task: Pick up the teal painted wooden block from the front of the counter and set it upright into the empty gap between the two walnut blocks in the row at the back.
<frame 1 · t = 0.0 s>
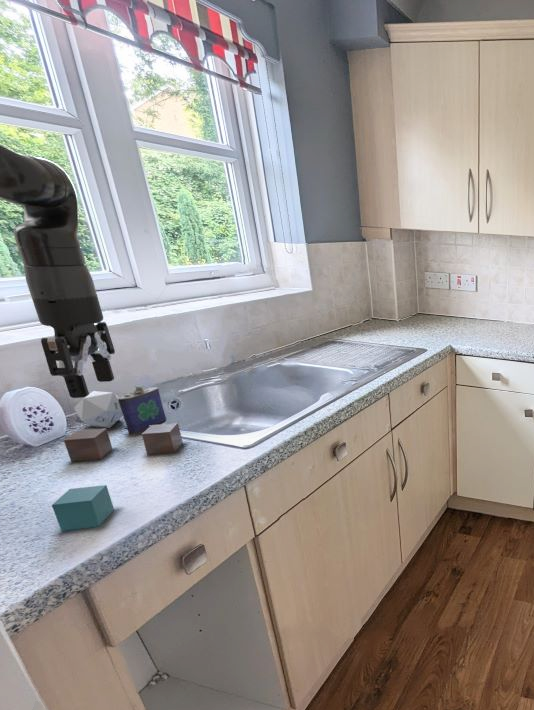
hand: (93, 388, 78), 20 cm above the table, tool pointing down, fingers open, 8 cm apart
flask: (148, 427, 111), on the table
die: (106, 425, 111), on the table
block A: (92, 455, 97), on the table
block C: (165, 448, 101), on the table
teal block: (88, 520, 76), on the table
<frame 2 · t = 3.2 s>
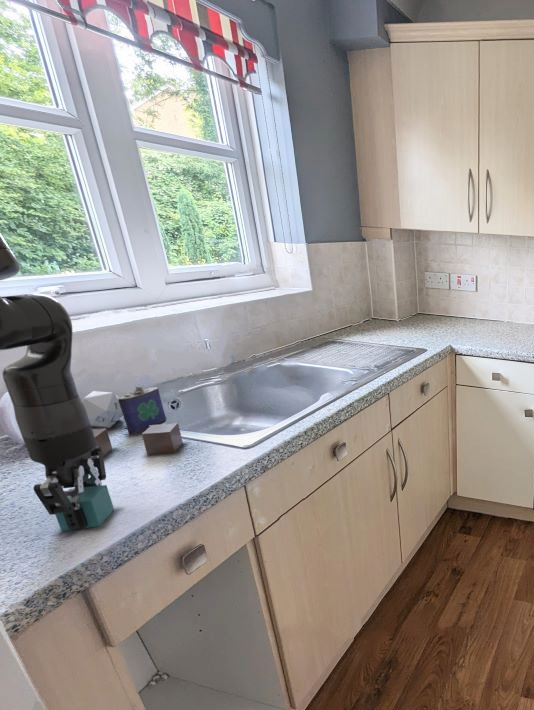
hand: (88, 517, 76), 0 cm above the table, tool pointing down, fingers closed on teal block, 5 cm apart
teal block: (88, 520, 76), on the table, touching gripper
everything else where it was.
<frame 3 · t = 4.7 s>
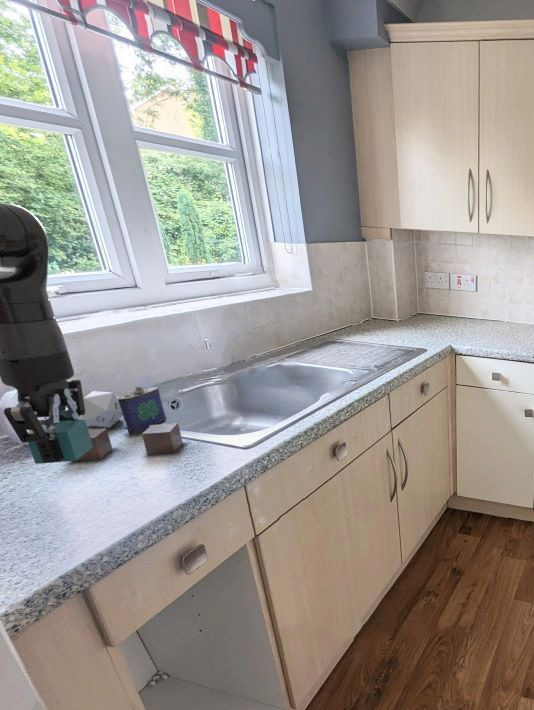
hand: (64, 452, 72), 13 cm above the table, tool pointing down, fingers closed on teal block, 5 cm apart
teal block: (65, 455, 72), point 12 cm above the table, touching gripper
everything else where it was.
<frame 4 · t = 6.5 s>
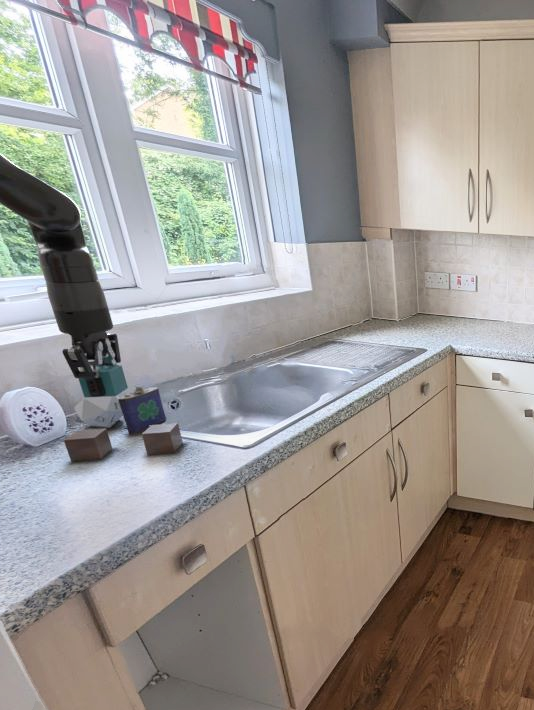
hand: (106, 390, 90), 15 cm above the table, tool pointing down, fingers closed on teal block, 5 cm apart
teal block: (106, 392, 91), point 15 cm above the table, touching gripper
everything else where it was.
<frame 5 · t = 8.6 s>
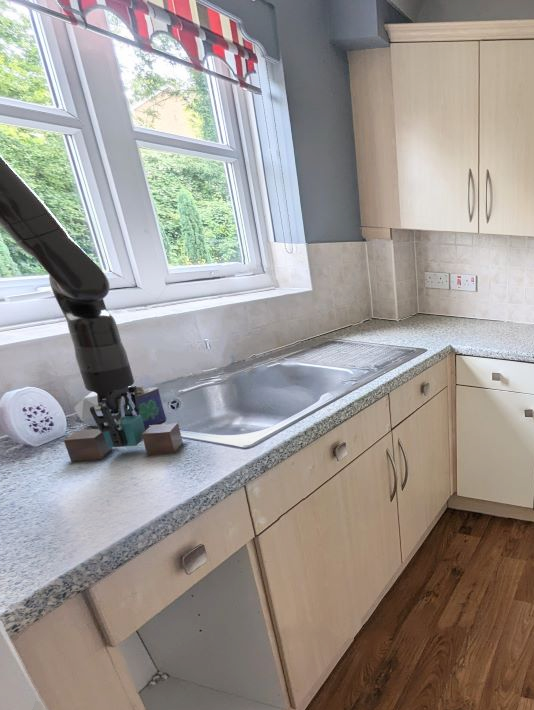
hand: (127, 439, 98), 3 cm above the table, tool pointing down, fingers closed on teal block, 5 cm apart
teal block: (128, 441, 98), point 2 cm above the table, touching gripper
everything else where it was.
when the fingers open (0 cm above the table, at t = 9.8 s): teal block stays where it is, on the table.
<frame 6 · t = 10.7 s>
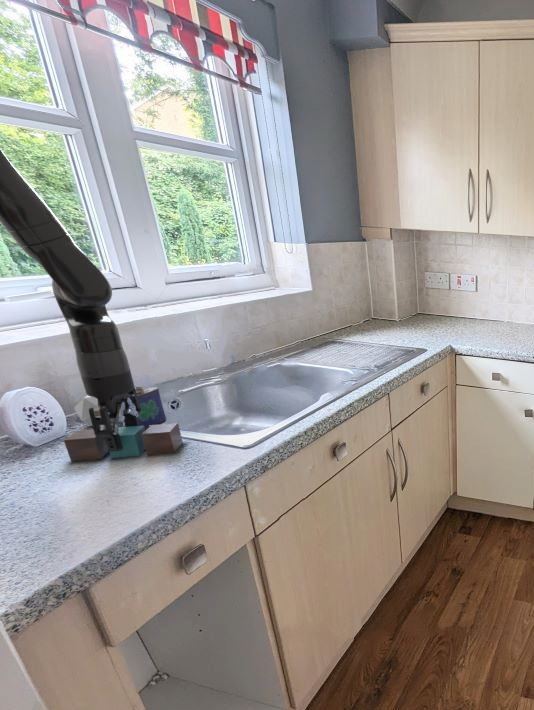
hand: (125, 442, 98), 2 cm above the table, tool pointing down, fingers open, 8 cm apart
teal block: (131, 451, 99), on the table
everything else where it was.
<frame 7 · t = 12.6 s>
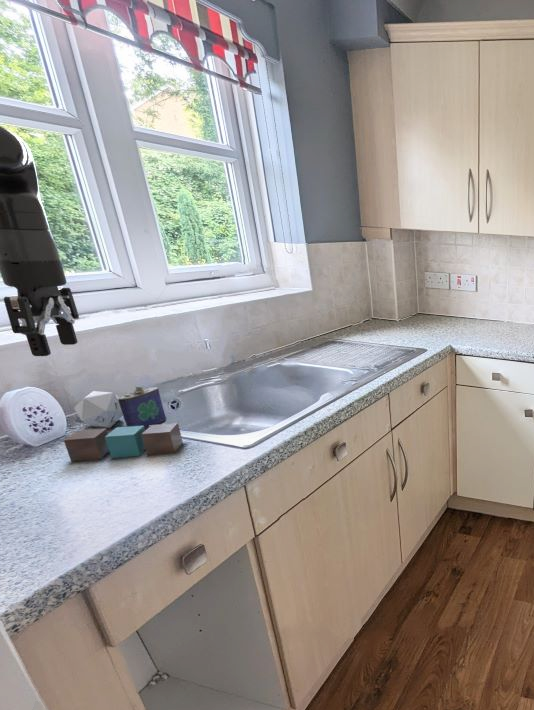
hand: (56, 349, 82), 25 cm above the table, tool pointing down, fingers open, 8 cm apart
nothing on the table moved.
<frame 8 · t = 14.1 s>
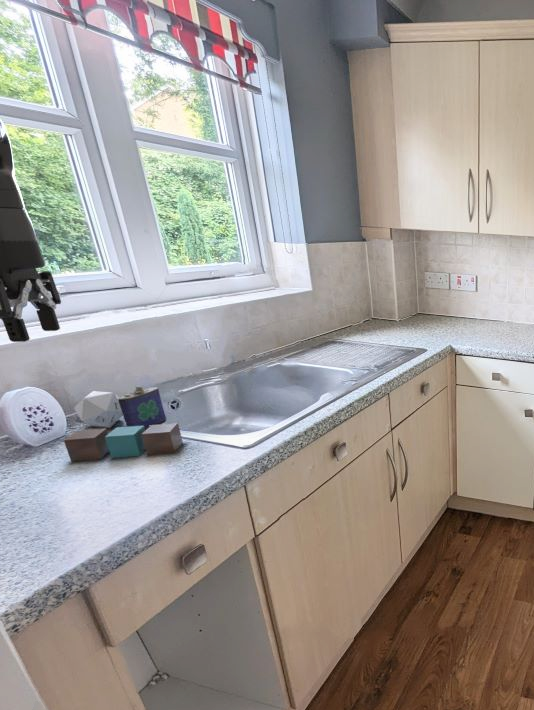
hand: (36, 335, 79), 28 cm above the table, tool pointing down, fingers open, 8 cm apart
nothing on the table moved.
at the end: teal block 0.2 cm from the target spot on the table beside the block C, on the table; teal block tilted 0°; block C moved 0.0 cm from its start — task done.
